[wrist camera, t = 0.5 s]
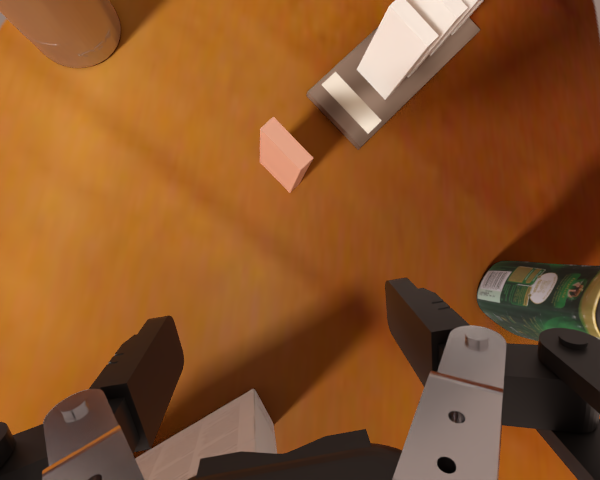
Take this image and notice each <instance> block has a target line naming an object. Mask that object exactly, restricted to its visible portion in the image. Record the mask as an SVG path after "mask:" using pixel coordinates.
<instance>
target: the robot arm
mask: <svg viewBox="0 0 600 480" xmlns="http://www.w3.org/2000/svg"><path fill="white" fill-rule="evenodd" d="M0 12H1V13H2V14H3V15H4V16H5V17H6V18H7V19H8V20H9V21H10V22H11V23H12V24H13V25H14V26H15V27H16V28H17V29H18V30H19V31H20V32H21V33H22V34H24V35H25V36H26V37H27V38H28V39H29V40H30V41H31V42H32V43H33V44H34V45H35V46H36V47H37V48H38V49H39V50H40V51H42V52H43V53H44V54H45V55H46V56H47V57H48V58H50V59H51V60H53V61H54V62H56V63H59V64H61V65H63V66H68V67H72V68H84V67H90V66H93V65H96V64H99V63H101V62H102V61H104V60H105V59H107V58H108V57H109V56H110V55H111V54H112V53H113V52H114V50H115V48H116V47H117V45H118V42H119V39H120V33H121V27H120V20H119V18H118V15H117V13H116V11H115V9H114V8H113V6H112V4H111V2H110V1H109V0H0ZM385 291H386V306H387V319H388V325H389V328H390V331H391V334H392V335H393V337H394V339H395V340H396V342H397V344H398V345H399V347H400V348H401V350H402V352H403V353H404V355H405V356H406V358H407V360H408V361H409V363H410V364H411V366H412V368H413V369H414V371H415V373H416V374H417V376H418V377H419V379H420V381H421V382H422V384H423V385H424V390H423V393H422V396H421V399H420V402H419V404H418V407H417V410H416V413H415V416H414V419H413V422H412V424H411V427H410V430H409V433H408V436H407V439H406V442H405V444H404V447H403V450H399V449H397V448H393V447H390V446H386V445H381V444H373V443H370V441H369V438H368V434H367V431H366V429H364V430H358V431H353V432H347V433H341V434H336V435H330V436H325V437H323V438H321V439H318V440H316V441H314V442H311V443H309V444H307V445H304V446H302V447H300V448H297V449H295V450H293V451H290V452H288V453H284V454H274V453H259V452H244V451H240V452H235V453H229V454H224V455H218V456H212V457H207V458H201V459H200V462H199V467H198V471H197V475H195V476H193V477H191V478H189V479H187V480H498V477H499V461H500V446H501V431H502V425H506V426H515V427H525V428H534V429H536V430H537V431H538V432H539V434H540V435H541V436H542V437H543V438H544V440H545V441H546V442H547V443H548V444H549V446H550V447H551V448H552V449H553V450H554V452H555V453H556V454H557V455H558V456H559V457H560V459H561V460H562V461H563V462H564V463H565V465H566V466H567V467H568V468H569V469H570V471H571V472H572V473H573V474H574V475H575V477H576V478H577V479H578V480H600V419H599V415H600V339H598V338H596V337H594V336H592V335H590V334H587V333H585V332H581V331H578V330H574V329H568V328H551V329H547V330H544V331H542V332H541V333H540V335H539V342H538V345H526V344H508V343H506V341H505V339H504V338H503V337H502V336H501V335H500V334H498V333H497V332H495V331H493V330H490V329H488V328H484V327H480V326H470V325H469V324H468V323H467V322H466V321H465V320H464V319H463V318H462V317H460V316H459V315H458V314H457V313H456V312H455V311H454V310H453V309H452V308H450V306H449V305H448V304H446V303H445V302H443V300H442V299H441V298H440V297H439V296H438V295H437V294H436V293H434V292H431V291H429V290H427V289H424V288H420V289H418V288H417V287H416V286H415V285H414V284H413V283H412V282H411V281H410V280H409V279H408V278H401V279H395V280H389V281H386V284H385ZM183 365H184V355H183V350H182V347H181V343H180V340H179V336H178V333H177V330H176V326H175V323H174V320H173V318H172V317H171V316H164V317H158V318H152V319H148V320H147V321H146V323H145V324H144V326H143V327H142V328H141V330H140V331H139V333H138V334H137V335H134V336H132V337H131V338H130V339H129V340H127V341H126V342H125V343H123V344H122V345H121V347H120V348H119V349H118V351H117V352H116V353H115V356H113V357H112V359H111V360H110V361H109V365H106V367H105V368H104V369H103V371H102V372H101V373H100V375H99V376H98V377H97V379H96V380H95V381H94V383H93V384H92V385H91V387H90V388H89V389H88V390H84V391H81V392H78V393H76V394H73V395H71V396H69V397H68V398H66V399H64V400H63V401H61V402H60V403H58V404H57V405H56V406H55V407H54V408H53V409H52V410H51V411H50V412H49V413H48V414H47V415H46V417H45V419H44V422H43V424H42V425H39V426H36V427H34V428H31V429H28V430H26V431H23V432H20V433H18V434H15V435H12V434H11V432H10V430H9V428H8V426H7V424H5V423H3V422H0V480H144V477H143V475H142V473H141V471H140V469H139V466H138V464H137V462H136V460H135V458H134V455H133V453H134V452H137V451H143V450H149V449H151V447H152V445H153V442H154V440H155V437H156V435H157V432H158V430H159V427H160V425H161V422H162V420H163V417H164V415H165V412H166V410H167V407H168V405H169V402H170V400H171V397H172V395H173V392H174V390H175V387H176V385H177V382H178V380H179V377H180V375H181V372H182V370H183Z"/></svg>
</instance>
